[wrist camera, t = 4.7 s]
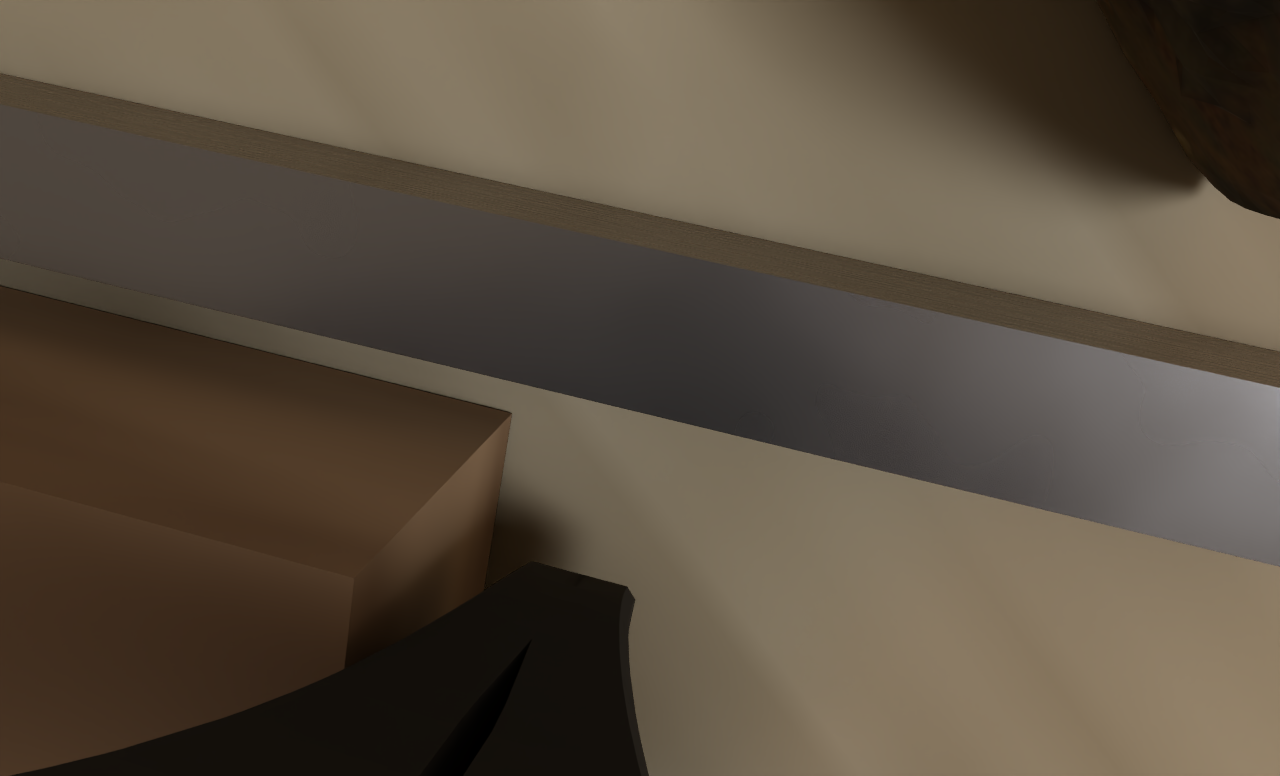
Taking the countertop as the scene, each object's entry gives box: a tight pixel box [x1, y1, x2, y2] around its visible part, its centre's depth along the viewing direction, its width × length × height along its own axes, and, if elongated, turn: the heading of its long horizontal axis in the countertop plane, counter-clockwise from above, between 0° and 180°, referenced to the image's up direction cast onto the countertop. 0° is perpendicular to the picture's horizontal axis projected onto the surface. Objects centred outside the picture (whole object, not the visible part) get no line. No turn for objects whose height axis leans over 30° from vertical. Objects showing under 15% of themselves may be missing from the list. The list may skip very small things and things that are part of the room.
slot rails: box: [0, 74, 1280, 567], centre depth 11 cm, size 9×24×2 cm, turn 79°
